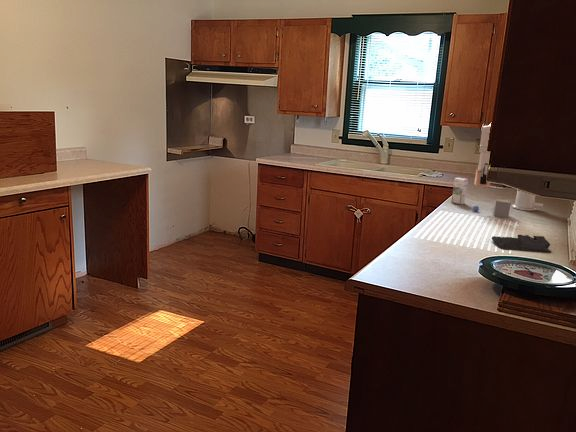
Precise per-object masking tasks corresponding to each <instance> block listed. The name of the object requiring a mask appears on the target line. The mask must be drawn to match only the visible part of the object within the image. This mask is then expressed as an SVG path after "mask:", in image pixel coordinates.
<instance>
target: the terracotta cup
mask: <svg viewBox="0 0 576 432" xmlns="http://www.w3.org/2000/svg"><path fill="white" fill-rule="evenodd" d="M483 171H484V170H483ZM481 176H482V170H481V171H479V170H478V168H476V169H475V177H474V186H475V187H485V188H486V187H487V188H490V187H491V182H490V183H486V184H480V179H481Z"/></svg>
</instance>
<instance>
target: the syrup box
mask: <svg viewBox="0 0 576 432" xmlns="http://www.w3.org/2000/svg"><path fill="white" fill-rule="evenodd" d="M468 182H469V179H468V178H464V177H455V178H454V183H453V187H452V189H453V190H452V194H451V204H456V205H463V204H465V203H466V196H467V195H466V194H467V190H468V189H467V188H468Z"/></svg>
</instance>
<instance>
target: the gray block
mask: <svg viewBox="0 0 576 432" xmlns="http://www.w3.org/2000/svg"><path fill="white" fill-rule="evenodd" d="M511 206H512V204H511V201H510V200H509V199H500V198H494V201H493V207H492V216H493V217H498V218H503V219H504V218H507V219H509V215H510V209H511Z"/></svg>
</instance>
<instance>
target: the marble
mask: <svg viewBox="0 0 576 432" xmlns="http://www.w3.org/2000/svg"><path fill="white" fill-rule="evenodd" d="M479 210H480V208H479V205H473V206H472V211H473V212H478V211H479Z"/></svg>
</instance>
